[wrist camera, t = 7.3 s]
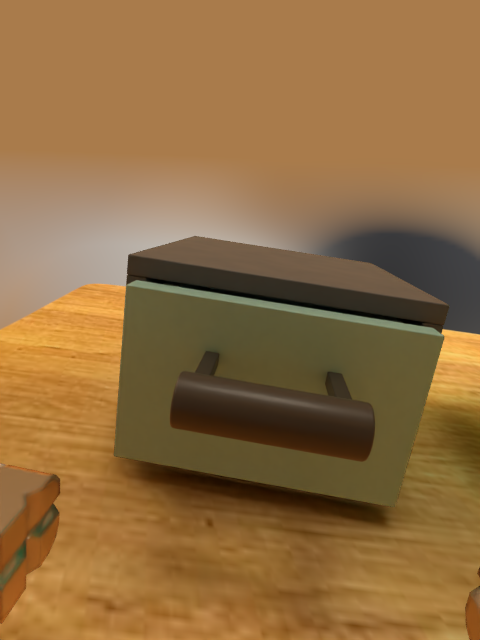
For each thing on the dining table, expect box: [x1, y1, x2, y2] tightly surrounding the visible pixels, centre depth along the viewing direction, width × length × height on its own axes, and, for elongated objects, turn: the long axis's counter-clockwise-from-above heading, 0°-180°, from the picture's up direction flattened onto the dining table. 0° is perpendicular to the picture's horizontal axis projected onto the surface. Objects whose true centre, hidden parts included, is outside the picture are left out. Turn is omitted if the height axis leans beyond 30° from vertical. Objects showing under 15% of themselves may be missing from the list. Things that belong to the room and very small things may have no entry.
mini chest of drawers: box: [115, 236, 449, 433], centre depth 26 cm, size 15×14×10 cm
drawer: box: [114, 280, 444, 507], centre depth 21 cm, size 18×13×8 cm
